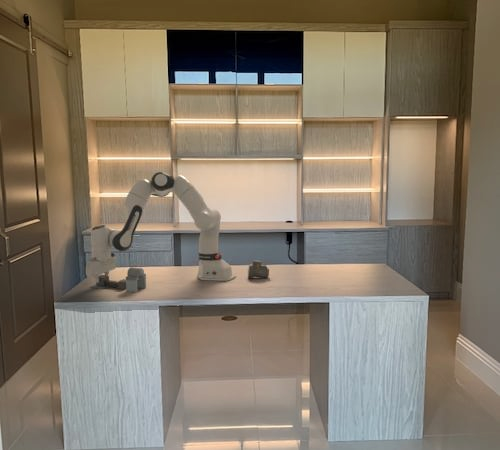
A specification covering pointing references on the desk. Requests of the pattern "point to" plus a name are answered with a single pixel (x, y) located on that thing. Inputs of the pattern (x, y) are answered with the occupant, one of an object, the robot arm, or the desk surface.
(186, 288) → the desk surface
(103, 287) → the pad
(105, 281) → the grey long block-ended bar
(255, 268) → the pipe fitting
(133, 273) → the housing
